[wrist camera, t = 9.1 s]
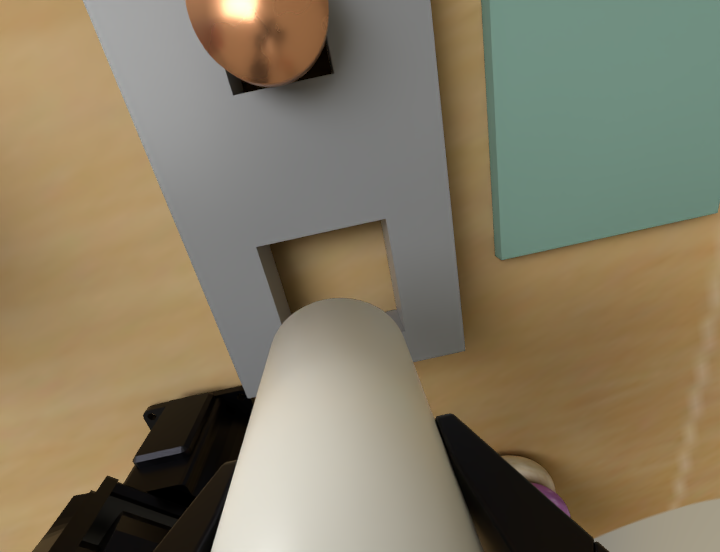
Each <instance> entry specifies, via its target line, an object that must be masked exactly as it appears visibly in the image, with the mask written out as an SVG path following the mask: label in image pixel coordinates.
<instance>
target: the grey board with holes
mask: <svg viewBox="0 0 720 552" xmlns="http://www.w3.org/2000/svg"><path fill="white" fill-rule="evenodd" d="M83 2H84V4H85V7H86V9H87V12H88V14H89V16H90V19H91V21H92V24H93V26H94V28H95V31H96V33H97V36H98V38H99V41H100V43H101V45H102V48H103V50H104V53H105V55H106V57H107V60H108V62H109V65H110V67H111V70H112V72H113V74H114V77H115V79H116V82H117V84H118V86H119V89H120V91H121V94H122V96H123V98H124V101H125V103H126V106H127V108H128V111H129V113H130V115H131V118H132V120H133V123H134V125H135V127H136V130H137V132H138V135H139V137H140V140H141V142H142V144H143V147H144V149H145V152H146V154H147V156H148V159H149V161H150V164H151V166H152V169H153V171H154V173H155V176H156V178H157V181H158V183H159V185H160V188H161V190H162V193H163V195H164V197H165V200H166V202H167V205H168V207H169V210H170V212H171V214H172V217H173V219H174V222H175V224H176V226H177V229H178V231H179V234H180V236H181V239H182V241H183V243H184V246H185V248H186V251H187V253H188V255H189V258H190V260H191V263H192V265H193V268H194V270H195V272H196V275H197V277H198V280H199V282H200V284H201V287H202V289H203V292H204V294H205V296H206V299H207V301H208V304H209V306H210V309H211V311H212V313H213V316H214V318H215V321H216V323H217V325H218V328H219V330H220V333H221V335H222V338H223V340H224V342H225V345H226V347H227V350H228V352H229V354H230V357H231V359H232V362H233V364H234V367H235V369H236V371H237V374H238V376H239V379H240V381H241V383H242V386H243V388H244V391H245V393H246V396H247V398H253V397H256V395H257V392H258V389H259V385H260V382H261V378H262V375H263V372H264V368H265V365H266V361H267V358H268V354H269V351H270V348H271V344H272V341H273V339H274V336H275V334H276V333H277V331H278V329H279V328H280V326H281V325H282V324H283V322H284V321H285V320H286V319H287V318H288V317H289V316H291V312H290V309H289V306H288V303H287V299H286V296H285V293H284V290H283V287H282V283H281V280H280V277H279V274H278V271H277V268H276V264H275V261H274V258H273V255H272V252H271V249H270V245H269V244H272V243H277V242H282V241H286V240H291V239H295V238H300V237H304V236H309V235H314V234H318V233H323V232H327V231H332V230H336V229H341V228H346V227H350V226H355V225H359V224H364V223H368V222H373V221H378V220H381V225H382V230H383V236H384V241H385V247H386V252H387V258H388V264H389V269H390V275H391V280H392V286H393V291H394V297H395V302H396V308H397V309H396V310H391V311H387V312H385V313H386V314H387V315H389V316H390V317H391V318H392V319H393V320H394V322H395V323H396V324H397V325H398V327H399V329H400V330H401V332H402V335H403V337H404V339H405V342H406V345H407V347H408V350H409V353H410V355H411V358H412V361H413V362H416V361H421V360H426V359H430V358H435V357H439V356H444V355H448V354H453V353H457V352H462V351H465V341H464V331H463V321H462V311H461V301H460V291H459V281H458V271H457V261H456V251H455V241H454V232H453V222H452V212H451V202H450V192H449V182H448V172H447V162H446V152H445V142H444V132H443V122H442V112H441V102H440V92H439V82H438V72H437V62H436V52H435V42H434V32H433V22H432V12H431V2H430V0H328V6H329V22H328V32H327V37H326V41H325V44H326V49H327V54H328V59H329V64H330V69H331V73H332V74H329V75H325V76H320V77H315V78H311V79H306V80H302V81H297V82H293V83H289V84H286V85H283V86H277V87H270V88H265V89H260V90H256V91H251V92H247V93H245V92H244V89H243V86H242V82H241V79H239V78H237V77H236V76H234V75H232V74H231V73H230V72H228V71H227V70H225V69H224V68H223V67H222V66H220V65H219V64H218V63H217V62H216V61H215V60H214V59H213V58H212V57H211V56H210V55H209V53H208V52H207V51H206V50H205V48H204V47H203V45H202V44H201V42H200V41H199V39H198V37H197V35H196V33H195V31H194V29H193V27H192V24H191V21H190V19H189V15H188V11H187V8H186V2H185V0H83Z"/></svg>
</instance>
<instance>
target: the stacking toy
mask: <svg viewBox="0 0 720 552" xmlns="http://www.w3.org/2000/svg"><path fill="white" fill-rule="evenodd" d="M501 457H502V458H504V459H505V460H506V461H507V462H508V463H509V464H510V465H511V466H513V467H514V468H515V469H516V470H517V471H518V472H519V473H521V474H522V475H523V476H524V477H525V478H526V479H527V480H528V481H530V482H531V483H532V484H533V485H534V486H535V487H536V488H537V489H539V490H540V491H541V492H542V493H543V494H544V495H545V496H546V497H548V498H549V499H550V500H551V501H552V502H553V503H554V504H556V505H557V506H558V507H559V508H560V509H561V510H562V511H563V512H565V513H566V514H567V515H568V516H569V517H570V518H571V516H570V512H569V510H568V508H567V506H566V504H565V503H564V501H563V500H562V499H561V497H560V496H559V495H558V494H556V491H555V486H554V483H553V480H552V479H551V477H550V475H549V474H548V472H547V471H546V470H545V469H544V468H543V467H542V466H541V465H539V464H538V463H536V462H535V461H533V460H531V459H528V458H525V457H520V456H510V455H507V456H501Z"/></svg>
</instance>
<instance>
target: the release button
mask: <svg viewBox="0 0 720 552" xmlns="http://www.w3.org/2000/svg"><path fill="white" fill-rule="evenodd" d="M185 2H186V8H187V11H188V15H189V19H190V21H191V24H192V27H193V29H194V31H195V33H196V35H197V37H198V39H199V41H200V42H201V44H202V45H203V47H204V48H205V50H206V51H207V52H208V53H209V55H210V56H211V57H212V58H213V59H214V60H215V61H216V62H217V63H218V64H219V65H220V66H222V67H223V68H224V69H225V70H227V71H228V72H230V73H231V74H232V75H234V76H236V77H237V78H239V79H241V80H243V81H245V82H247V83H250V84H253V85H256V86H262V87H277V86H283V85H286V84H289V83H291V82H294V81H296V80H297V79H299V78H300V77H302V76H303V75H304V74H306V73H307V72H308V71H309V70H310V69H311V67H312V66H313V65H314V64H315V62H316V61H317V59H318V58H319V56H320V54H321V52H322V49H323V47H324V44H325V41H326V37H327V32H328V22H329V6H328V0H185Z"/></svg>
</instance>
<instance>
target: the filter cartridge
mask: <svg viewBox="0 0 720 552" xmlns="http://www.w3.org/2000/svg"><path fill="white" fill-rule="evenodd" d="M211 552H484V550H483V547H482V544H481V542H480V539H479V536H478V534H477V531H476V528H475V526H474V523H473V520H472V518H471V515H470V512H469V510H468V507H467V504H466V502H465V499H464V496H463V494H462V491H461V488H460V486H459V483H458V480H457V478H456V475H455V472H454V470H453V467H452V465H451V462H450V459H449V457H448V454H447V451H446V449H445V446H444V443H443V441H442V438H441V435H440V433H439V430H438V427H437V425H436V422H435V419H434V417H433V414H432V411H431V409H430V406H429V403H428V401H427V398H426V395H425V393H424V390H423V387H422V385H421V382H420V379H419V377H418V374H417V371H416V369H415V366H414V363H413V361H412V358H411V355H410V353H409V350H408V347H407V345H406V342H405V339H404V337H403V335H402V332H401V330H400V329H399V327H398V325H397V324H396V323H395V322H394V320H393V319H392V318H391V317H390V316H389V315H387V314H386V313H385V312H384V311H382V310H381V309H379V308H378V307H376V306H374V305H372V304H369V303H366V302H363V301H360V300H355V299H348V298H332V299H325V300H321V301H317V302H314V303H311V304H309V305H307V306H304V307H303V308H301V309H299V310H297V311H296V312H295V313H293V314H292V315H291V316H289V317H288V318H287V319H286V320H285V321H284V322H283V324H282V325H281V326H280V328H279V329H278V331H277V333H276V334H275V336H274V339H273V341H272V344H271V348H270V351H269V354H268V358H267V361H266V365H265V368H264V372H263V375H262V378H261V382H260V385H259V389H258V392H257V395H256V399H255V402H254V406H253V409H252V413H251V416H250V419H249V423H248V426H247V430H246V433H245V436H244V440H243V443H242V447H241V450H240V454H239V457H238V460H237V464H236V467H235V471H234V474H233V477H232V481H231V484H230V488H229V491H228V494H227V498H226V501H225V505H224V508H223V512H222V515H221V518H220V522H219V525H218V529H217V532H216V535H215V539H214V542H213V546H212V549H211Z"/></svg>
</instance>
